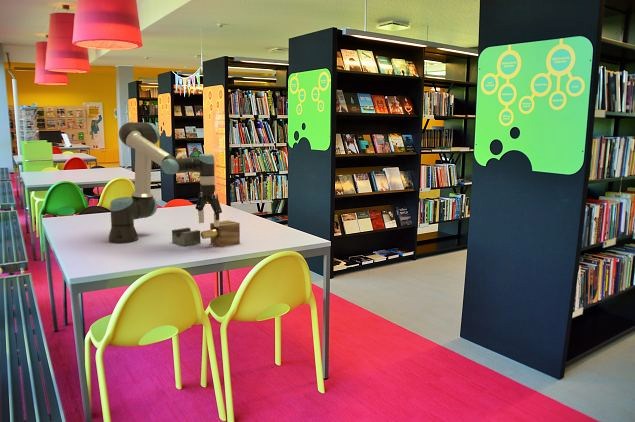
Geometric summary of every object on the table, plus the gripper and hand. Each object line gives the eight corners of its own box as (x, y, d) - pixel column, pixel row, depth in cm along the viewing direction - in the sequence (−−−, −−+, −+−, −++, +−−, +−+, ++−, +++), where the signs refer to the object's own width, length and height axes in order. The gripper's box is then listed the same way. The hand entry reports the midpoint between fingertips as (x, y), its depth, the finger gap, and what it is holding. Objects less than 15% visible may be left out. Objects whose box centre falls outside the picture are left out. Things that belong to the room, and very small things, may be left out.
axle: (205, 239, 257) (205, 231, 257) (200, 238, 260) (200, 230, 259) (233, 234, 270) (233, 227, 270) (228, 233, 273) (228, 226, 272)
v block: (172, 242, 271) (171, 230, 270) (188, 239, 278) (187, 227, 277) (184, 246, 263) (184, 233, 262) (200, 243, 270) (200, 230, 269)
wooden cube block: (210, 244, 269) (210, 223, 267) (228, 240, 277) (228, 220, 275) (221, 247, 262) (221, 225, 260) (239, 243, 271) (239, 222, 269)
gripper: (228, 185, 251) (229, 226, 254) (200, 181, 268) (201, 220, 271) (215, 186, 245) (217, 228, 249) (187, 183, 262) (189, 222, 266)
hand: (208, 224), depth 260 cm, fingers open, 13 cm apart
